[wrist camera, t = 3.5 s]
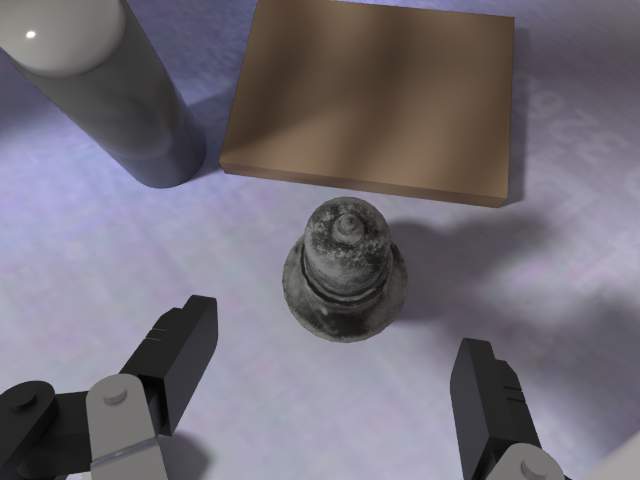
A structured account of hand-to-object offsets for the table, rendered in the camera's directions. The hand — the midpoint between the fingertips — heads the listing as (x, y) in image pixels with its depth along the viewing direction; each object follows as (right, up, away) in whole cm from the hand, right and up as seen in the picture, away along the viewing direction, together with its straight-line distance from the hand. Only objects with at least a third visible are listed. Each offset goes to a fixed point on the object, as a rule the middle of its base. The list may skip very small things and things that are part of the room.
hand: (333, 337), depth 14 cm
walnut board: (+3, +12, +13) cm, 18 cm away
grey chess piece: (+1, 0, +10) cm, 10 cm away
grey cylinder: (-10, +9, +13) cm, 18 cm away
